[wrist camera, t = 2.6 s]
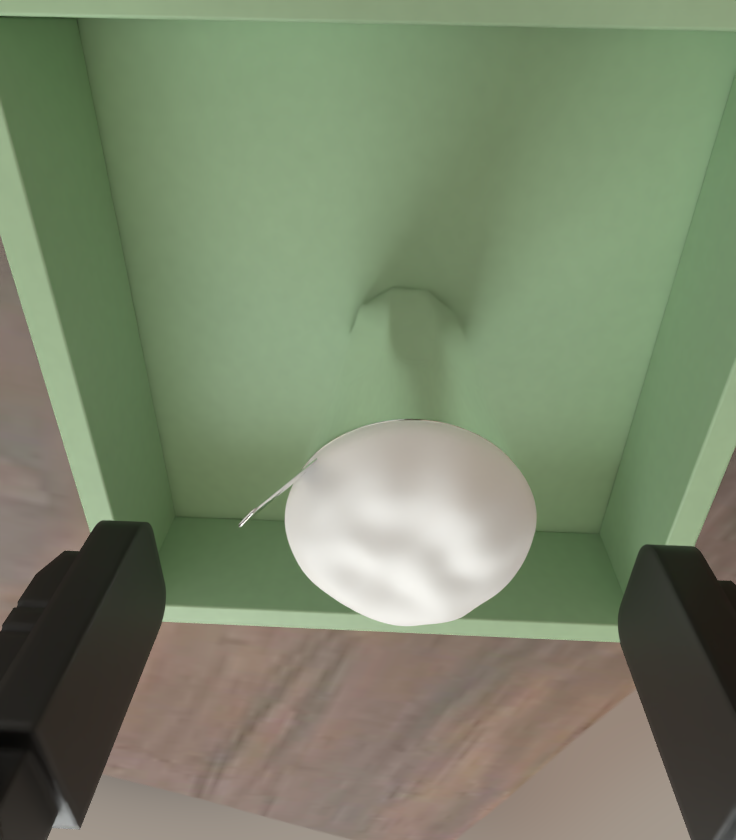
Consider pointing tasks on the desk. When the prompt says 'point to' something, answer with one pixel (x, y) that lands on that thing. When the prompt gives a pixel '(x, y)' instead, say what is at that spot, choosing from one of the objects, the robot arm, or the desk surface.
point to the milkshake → (408, 474)
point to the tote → (377, 265)
